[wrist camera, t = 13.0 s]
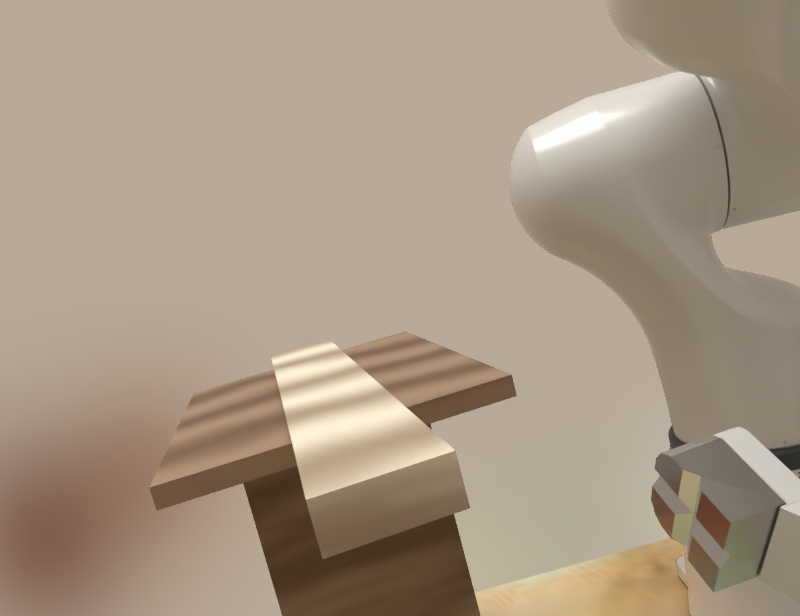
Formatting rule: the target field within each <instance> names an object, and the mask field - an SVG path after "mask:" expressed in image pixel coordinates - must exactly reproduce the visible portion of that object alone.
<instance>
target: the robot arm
mask: <svg viewBox="0 0 800 616" xmlns="http://www.w3.org/2000/svg"><path fill="white" fill-rule="evenodd" d="M606 5H607V9H608V12H609V15H610V18H611V20H612V22H613V24H614V25H615V27H616V29H617V31H618V32H619V33H620V35H621V36H622V37H623V38H624V39H625V40H626V41H627V42H628V43H629V44H630V45H631V46H632V47H634V48H635V49H636V50H638V51H639V52H641V53H642V54H644V55H645V56H647V57H649V58H650V59H652V60H654V61H655V62H657V63H659V64H661V65H663V66H665V67H668V68H670V69H673V70H676V71H678V72H675V73H671V74H668V75H664V76H660V77H657V78H653V79H650V80H647V81H643V82H639V83H636V84H633V85H629V86H625V87H622V88H618V89H615V90H611V91H608V92H604V93H601V94H598V95H594V96H590V97H587V98H585V99H583V100H581V101H578V102H577V103H574V104H573V105H570V106H568V107H566V108H564V109H562V110H560V111H557V112H555V113H554V114H552V115H550V116H548V117H546V118H544V119H542V120H540V121H538V122H537V123H535V124H533V125H531V126H529V127H527V129H526V130H525V131H524V133H523V135H522V136H521V138H520V140H519V142H518V144H517V146H516V149H515V152H514V154H513V158H512V161H511V166H510V174H509V189H510V196H511V201H512V205H513V208H514V211H515V213H516V216H517V218H518V220H519V222H520V223H521V225H522V227H523V228H524V230H525V231H526V232H527V234H528V235H529V236H530V237H531V238H532V239H533V240H534V241H535V242H536V243H537V244H538V245H539V246H541V247H542V248H543V249H545V250H546V251H548V252H549V253H551V254H553V255H555V256H557V257H559V258H561V259H564V260H567V261H569V262H571V263H573V264H575V265H577V266H579V267H581V268H583V269H585V270H586V271H588V272H590V273H591V274H593V275H594V276H596V277H597V278H599V279H600V280H601V281H602V282H604V283H605V284H606V285H607V286H608V287H610V288H611V289H612V290H613V291H614V292H615V293H616V294H617V295H618V296H619V297H620V298H621V299H622V300H623V302H624V303H625V304H626V305H627V306H628V307H629V309H630V310H631V311H632V313H633V314H634V316H635V317H636V319H637V320H638V322H639V323H640V325H641V327H642V329H643V331H644V333H645V335H646V337H647V340H648V342H649V344H650V347H651V350H652V353H653V356H654V359H655V362H656V365H657V368H658V372H659V375H660V378H661V382H662V385H663V389H664V393H665V396H666V401H667V404H668V408H669V413H670V418H671V422H672V426H671V428H670V430H669V441H670V447H671V448H670V450H668V451H665V452H663V453H661V454H660V455H659V456H658V457H657V458H656V464H655V470H656V471H657V472H658V473H659V474H660V477H659V478H658V480H657V481H656V482H655V483H654V485H653V486H652V496H651V501H652V504H653V507H654V511H655V515H656V516H657V518H658V520H659V522H660V524H661V526H662V527H663V528H664V530H665V531H666V532H667V534H668V535H669V536H670V538H671V539H673V540H675V541H677V542H680V543H682V549H683V555H682V556H681V557H679V558H678V560H677V569H678V575H679V577H680V578H681V580H682V581H683V582H684V583H685V585H686V586H687V587H688V606H689V611H690V614H691V616H800V287H798V286H796V285H794V284H791V283H789V282H785V281H782V280H779V279H775V278H771V277H767V276H763V275H759V274H755V273H750V272H745V271H739V270H734V269H730V268H727V267H725V266H724V265H723V264H722V262H721V261H720V259H719V258H718V256H717V254H716V252H715V249H714V246H713V243H712V236H711V234H712V233H714V232H716V231H719V230H721V229H724V228H729V227H733V226H737V225H741V224H746V223H749V222H753V221H758V220H762V219H766V218H770V217H775V216H779V215H782V214H787V213H791V212H795V211H800V0H606Z"/></svg>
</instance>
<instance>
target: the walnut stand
mask: <svg viewBox="0 0 800 616" xmlns="http://www.w3.org/2000/svg"><path fill="white" fill-rule="evenodd" d="M342 351H343V352H344V353H345V354H346V355H347V356H349V357H350V358H351V359H352V360H353V361H354V362H355V363H356V364H358V365H359V366H360V367H361V368H362V369H363V370H364V371H366V372H367V373H368V374H369V375H370V376H371V377H372V378H373V379H375V380H376V381H377V382H378V383H379V384H380V385H381V386H383V387H384V388H385V389H386V390H387V391H388V392H389V393H390V394H392V395H393V396H394V397H395V398H396V399H397V400H398V401H400V402H401V403H402V404H403V405H404V406H405V407H406V408H408V409H409V410H410V411H411V412H412V413H413V414H414V415H415V416H417V417H418V418H419V419H420V420H421V421H422V422H423V423H425V424H426V425H427V426H428V427H429V428H430V429H431V430H432V428H431V425H430V423H433V422H436V421H439V420H443V419H446V418H449V417H452V416H455V415H458V414H461V413H464V412H467V411H471V410H474V409H477V408H480V407H483V406H487V405H490V404H493V403H496V402H499V401H502V400H505V399H509V398H511V397H515V396H516V391H515V387H514V383H513V379H512V375H511V374H509V373H506V372H504V371H501V370H499V369H496V368H494V367H491V366H489V365H486V364H484V363H482V362H479V361H476V360H474V359H472V358H469V357H467V356H464V355H462V354H459V353H457V352H454V351H452V350H450V349H447V348H445V347H442V346H440V345H437V344H435V343H432V342H430V341H427V340H425V339H422V338H420V337H417V336H415V335H413V334H410V333H408V332H402V333H399V334H395V335H392V336H388V337H385V338H382V339H378V340H375V341H371V342H368V343H365V344H361V345H358V346H354V347H350V348H347V349H344V350H342ZM242 483H243V484H244V487H245V490H246V494H247V497H248V501H249V504H250V507H251V511H252V514H253V517H254V521H255V524H256V528H257V531H258V535H259V538H260V541H261V545H262V548H263V552H264V555H265V558H266V562H267V565H268V568H269V572H270V575H271V579H272V582H273V585H274V589H275V592H276V596H277V599H278V603H279V606H280V609H281V613H282V616H480V612H479V609H478V605H477V601H476V597H475V593H474V589H473V586H472V582H471V578H470V574H469V570H468V567H467V563H466V559H465V555H464V551H463V548H462V543H461V540H460V536H459V532H458V528H457V524H456V521H455V517H454V514H451V515H448V516H446V517H443V518H440V519H437V520H434V521H431V522H428V523H425V524H423V525H420V526H417V527H414V528H411V529H408V530H405V531H403V532H400V533H397V534H394V535H391V536H388V537H385V538H382V539H380V540H377V541H374V542H371V543H368V544H365V545H362V546H359V547H357V548H354V549H351V550H348V551H345V552H342V553H339V554H336V555H334V556H331V557H328V558H325V559H322V555H321V552H320V548H319V545H318V541H317V538H316V534H315V531H314V527H313V524H312V520H311V517H310V513H309V509H308V506H307V502H306V499H305V495H304V490H303V486H302V482H301V478H300V474H299V470H298V466H297V462H296V457H295V453H294V449H293V445H292V441H291V437H290V433H289V428H288V424H287V420H286V416H285V412H284V408H283V404H282V399H281V395H280V391H279V387H278V383H277V379H276V375H275V370H271V371H268V372H264V373H261V374H257V375H254V376H250V377H247V378H244V379H240V380H237V381H233V382H230V383H226V384H223V385H220V386H216V387H212V388H209V389H206V390H202V391H199V392H195V393H194V394H193V396H192V398H191V400H190V403H189V405H188V407H187V409H186V411H185V413H184V415H183V417H182V420H181V422H180V424H179V426H178V428H177V430H176V432H175V434H174V437H173V439H172V441H171V443H170V445H169V447H168V450H167V451H166V454H165V456H164V458H163V460H162V462H161V464H160V466H159V468H158V471H157V473H156V475H155V477H154V479H153V481H152V484H151V486H150V491H151V494H152V497H153V500H154V504H155V507H156V510H160V509H163V508H166V507H169V506H173V505H176V504H179V503H182V502H185V501H188V500H191V499H194V498H198V497H201V496H204V495H207V494H210V493H213V492H216V491H220V490H223V489H226V488H229V487H232V486H235V485H239V484H242Z"/></svg>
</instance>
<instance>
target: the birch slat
mask: <svg viewBox="0 0 800 616" xmlns="http://www.w3.org/2000/svg"><path fill="white" fill-rule="evenodd" d="M271 358H272V362H273V366H274V370H275V375H276V379H277V383H278V387H279V391H280V395H281V399H282V404H283V408H284V412H285V416H286V420H287V424H288V428H289V433H290V437H291V441H292V445H293V449H294V453H295V457H296V462H297V466H298V470H299V474H300V478H301V482H302V486H303V490H304V495H305V499H306V502H307V506H308V509H309V513H310V517H311V520H312V524H313V527H314V531H315V534H316V538H317V541H318V545H319V548H320V552H321V555H322V559H325V558H328V557H331V556H334V555H336V554H339V553H342V552H345V551H348V550H351V549H354V548H357V547H359V546H362V545H365V544H368V543H371V542H374V541H377V540H380V539H382V538H385V537H388V536H391V535H394V534H397V533H400V532H403V531H405V530H408V529H411V528H414V527H417V526H420V525H423V524H425V523H428V522H431V521H434V520H437V519H440V518H443V517H446V516H448V515H451V514H454V513H457V512H460V511H463V510H466V509H468V508H470V506H469V502H468V498H467V494H466V490H465V487H464V483H463V479H462V475H461V471H460V467H459V463H458V459H457V455H456V452H455V450H454V449H453V448H452V447H451V446H449V445H448V444H447V443H446V442H445V441H444V440H443V439H441V438H440V437H439V436H438V435H437V434H436V433H435V432H434V431H432V430H431V429H430V428H429V427H428V426H427V425H426V424H425V423H423V422H422V421H421V420H420V419H419V418H418V417H417V416H415V415H414V414H413V413H412V412H411V411H410V410H409V409H408V408H406V407H405V406H404V405H403V404H402V403H401V402H400V401H398V400H397V399H396V398H395V397H394V396H393V395H392V394H390V393H389V392H388V391H387V390H386V389H385V388H384V387H383V386H381V385H380V384H379V383H378V382H377V381H376V380H375V379H373V378H372V377H371V376H370V375H369V374H368V373H367V372H366V371H364V370H363V369H362V368H361V367H360V366H359V365H358V364H356V363H355V362H354V361H353V360H352V359H351V358H350V357H349V356H347V355H346V354H345V353H344V352H343V351H342V350H340V349H339V348H338V347H337V346H336V345H335V344H334V343H333V342H332V341H330V340H329V339H325V340H322V341H318V342H315V343H311V344H308V345H304V346H301V347H297V348H294V349H290V350H287V351H283V352H280V353H276V354H273V355H271Z"/></svg>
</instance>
